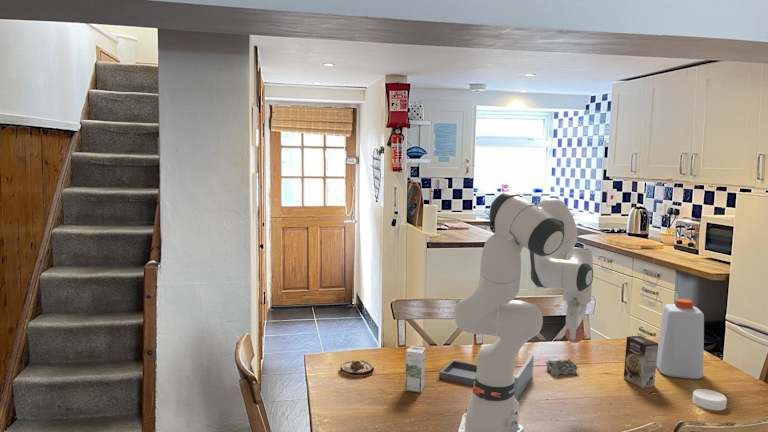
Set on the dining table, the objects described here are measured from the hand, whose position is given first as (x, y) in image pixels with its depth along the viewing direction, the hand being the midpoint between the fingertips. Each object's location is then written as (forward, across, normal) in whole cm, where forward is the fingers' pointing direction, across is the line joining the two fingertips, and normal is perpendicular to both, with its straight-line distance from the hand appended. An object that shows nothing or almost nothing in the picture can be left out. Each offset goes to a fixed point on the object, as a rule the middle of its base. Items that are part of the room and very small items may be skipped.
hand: (574, 335), depth 192 cm
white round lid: (+22, +18, -42) cm, 51 cm away
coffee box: (+22, +26, -20) cm, 40 cm away
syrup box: (+22, -20, +49) cm, 57 cm away
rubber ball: (-1, 0, 0) cm, 1 cm away
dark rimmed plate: (+22, -15, +74) cm, 79 cm away
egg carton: (+22, +23, +7) cm, 32 cm away
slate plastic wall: (+22, 0, +16) cm, 27 cm away
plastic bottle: (+22, +45, -33) cm, 60 cm away
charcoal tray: (+22, 0, +38) cm, 44 cm away
